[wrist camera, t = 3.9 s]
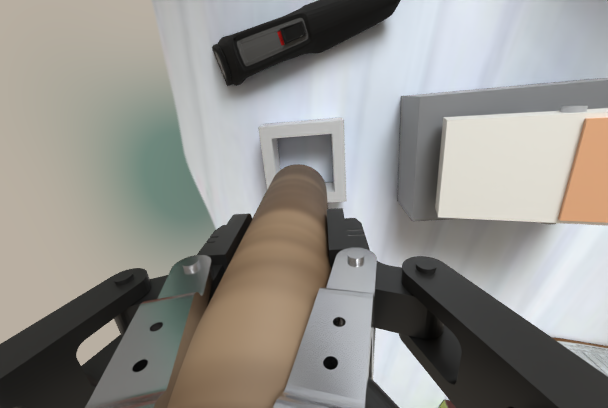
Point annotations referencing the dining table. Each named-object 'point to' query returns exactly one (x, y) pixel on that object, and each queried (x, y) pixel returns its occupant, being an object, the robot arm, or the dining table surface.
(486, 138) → the rocker switch
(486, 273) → the dining table surface
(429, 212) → the switch box
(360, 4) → the electric trimmer
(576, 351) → the tin
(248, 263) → the wooden peg
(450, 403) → the protein box
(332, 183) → the holder
